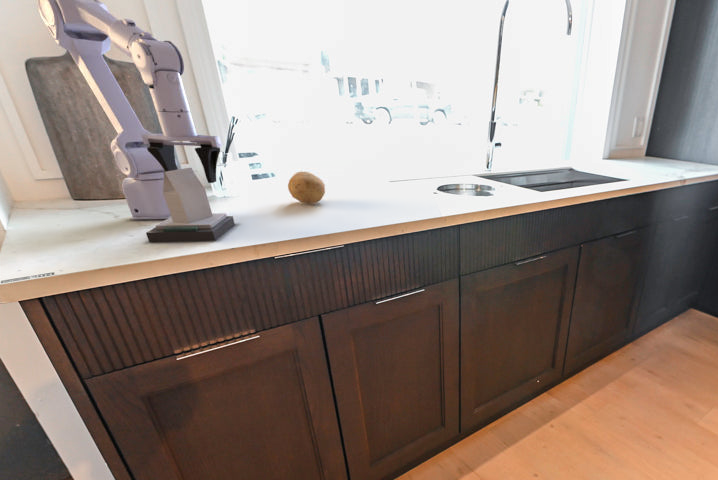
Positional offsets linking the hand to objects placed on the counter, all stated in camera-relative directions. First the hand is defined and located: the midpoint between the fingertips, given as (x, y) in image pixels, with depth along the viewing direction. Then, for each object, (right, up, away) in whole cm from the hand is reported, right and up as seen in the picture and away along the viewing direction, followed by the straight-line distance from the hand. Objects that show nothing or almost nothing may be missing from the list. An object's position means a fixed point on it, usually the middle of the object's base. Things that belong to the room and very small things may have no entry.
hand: (194, 181), depth 93 cm
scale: (0, -11, 0) cm, 11 cm away
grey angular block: (0, -9, -1) cm, 9 cm away
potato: (+13, +4, +28) cm, 31 cm away
